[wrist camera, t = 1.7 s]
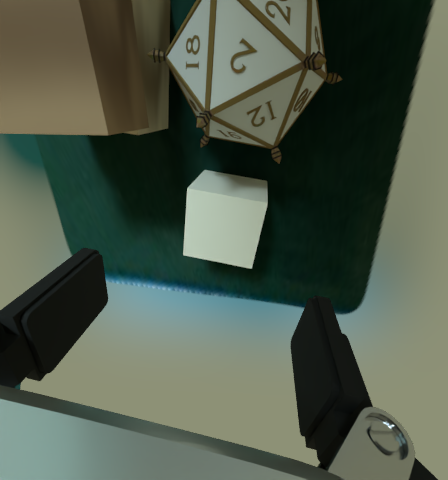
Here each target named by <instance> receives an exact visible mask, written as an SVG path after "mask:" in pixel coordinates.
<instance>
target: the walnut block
mask: <svg viewBox="0 0 448 480" xmlns="http://www.w3.org/2000/svg"><path fill="white" fill-rule="evenodd" d="M145 128H149V123H148V116H147V108H146V101H145V94H144V87H143V80H142V73H141V65H140V58H139V51H138V44H137V37H136V30H135V23H134V15H133V8H132V1H131V0H0V133H7V134H9V133H10V134H63V135H113V134H118V133H124V132H129V131H135V130H140V129H145Z"/></svg>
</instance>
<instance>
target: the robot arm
mask: <svg viewBox="0 0 448 480" xmlns="http://www.w3.org/2000/svg"><path fill="white" fill-rule="evenodd" d="M107 302H108V294H107V287H106V280H105V273H104V266H103V259H102V255H100V254H99V252H98V251H97V250H93V249H88V248H83V249H81V250H80V251H78V252H77V253H76V254H74V255H73V256H72V257H70V258H69V259H68V260H66V261H65V262H64V263H62V264H61V265H60V266H59V267H57V268H56V269H55V270H53V271H52V272H51V273H49V274H48V275H47V276H45V277H44V278H43V279H41V280H40V281H39V282H37V283H36V284H35V285H33V286H32V287H31V288H29V289H28V290H27V291H25V292H24V293H23V294H22V295H20V296H19V297H17V298H16V299H15V300H14V301H12V302H11V303H10V304H8V305H7V306H6V307H4V308H3V309H2V310H0V480H438V479H437V478H436V477H435V476H434V475H433V474H431V473H430V472H429V471H428V470H427V469H426V468H425V467H424V466H423V465H422V464H421V463H420V462H419V461H418V460H417V459H416V458H415V450H414V446H413V443H412V441H411V439H410V437H409V435H408V433H407V432H406V430H405V429H404V428H403V426H402V425H401V424H400V423H399V422H398V421H397V420H396V419H395V418H394V417H393V416H391V415H390V414H388V413H387V412H386V411H383V410H381V409H379V408H375V407H373V406H372V403H371V400H370V398H369V395H368V392H367V389H366V387H365V384H364V381H363V378H362V376H361V373H360V370H359V367H358V365H357V362H356V359H355V357H354V354H353V351H352V349H351V345H350V343H349V340H348V338H347V336H346V335H345V334H342V333H341V330H340V327H339V324H338V321H337V319H336V315H335V312H334V310H333V307H332V304H331V301H330V299H329V298H325V297H320V296H314V297H313V298H309V299H308V301H307V304H306V306H305V309H304V311H303V313H302V316H301V318H300V320H299V323H298V325H297V327H296V330H295V332H294V335H293V337H292V340H291V354H292V363H293V373H294V382H295V391H296V400H297V409H298V418H299V428H300V433H301V435H302V436H305V441H306V447H307V448H311V449H315V450H317V457H318V460H319V461H320V464H319V465H318V467H315V466H312V465H309V464H306V463H303V462H300V461H297V460H294V459H290V458H287V457H283V456H280V455H276V454H272V453H269V452H265V451H262V450H258V449H254V448H251V447H247V446H243V445H239V444H235V443H232V442H228V441H223V440H220V439H216V438H212V437H208V436H204V435H201V434H197V433H193V432H189V431H185V430H181V429H177V428H173V427H169V426H165V425H161V424H157V423H153V422H149V421H145V420H141V419H138V418H134V417H129V416H125V415H122V414H118V413H114V412H109V411H105V410H102V409H98V408H94V407H90V406H85V405H81V404H77V403H73V402H69V401H65V400H61V399H57V398H53V397H49V396H45V395H41V394H37V393H33V392H28V391H24V390H20V385H21V382H22V381H23V380H24V379H25V377H27V378H29V379H33V380H37V381H41V380H42V378H43V377H44V376H45V375H46V374H47V373H50V372H51V371H53V370H54V368H55V367H56V366H57V365H58V364H59V362H60V361H61V360H62V359H63V357H64V356H65V355H66V354H67V353H68V351H69V350H70V349H71V348H72V346H73V345H74V344H75V343H76V341H77V340H78V339H79V338H80V337H81V335H82V334H83V333H84V332H85V330H86V329H87V328H88V327H89V326H90V324H91V323H92V322H93V321H94V319H95V318H96V317H97V316H98V314H99V313H100V312H101V311H102V310H103V308H104V307H105V306H106V304H107Z"/></svg>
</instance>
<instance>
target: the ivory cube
mask: <svg viewBox="0 0 448 480" xmlns="http://www.w3.org/2000/svg"><path fill="white" fill-rule="evenodd" d="M267 204H268V191H267V181H265V180H259V179H253V178H248V177H242V176H237V175H231V174H225V173H220V172H214V171H209V170H204V171H203V172H202V173H201V174H200V175H199V176H198V177H197V179H196V180H195V181H194V182H193V183H192V184H191V185H190V186H189V187H188V188H187V201H186V217H185V234H184V251H183V255H185V256H190V257H195V258H200V259H205V260H210V261H215V262H220V263H225V264H230V265H235V266H240V267H245V268H250V269H252V266H253V262H254V258H255V253H256V249H257V245H258V241H259V237H260V233H261V229H262V225H263V221H264V217H265V213H266V209H267Z"/></svg>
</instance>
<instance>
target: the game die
mask: <svg viewBox="0 0 448 480" xmlns="http://www.w3.org/2000/svg"><path fill="white" fill-rule="evenodd" d="M147 56H149V57H150V58H151V59H152V60H153V61H154V63H156V62H159V63H161V62H162V61H166V63H167V65H168V66H169V68H170V70H171V72H172V74H173V76H174V78H175V79H176V81H177V83H178V85H179V87H180V89H181V90H182V92H183V94H184V96H185V98H186V100H187V101H188V103H189V105H190V107H191V109H192V111H193V113H194V114H195V116H196V123H197V127H202V129H203V131H204V133H205V135H204V136H202V139H200V142H201V147H203V146H206V145H208V142H210V141H209V139H210V137H211V138H216V139H222V140H227V141H232V142H237V143H243V144H248V145H253V146H259V147H264V148H269V149H271V150H272V154H271V155H272V157H273V158H272V159H274V160H275V161H276V162H277V163H279V164H280V160H281V156H282V155H281V153H280V151H281V150H279V149H278V148H277V146H278V144H279V143H280V141H281V140H282V139H283V137H284V136H285V135H286V133H287V132H288V131H289V129H290V128H291V127H292V125H293V124H294V122H295V121H296V120H297V118H298V117H299V116H300V114H301V113H302V112H303V110H304V109H305V108H306V106H307V105H308V103H309V102H310V101H311V99H312V98H313V97H314V95H315V94H316V93H317V91H318V90H319V89H320V87H321V86H322V84H323V83H324V82H325V81H326V82H327V83H328V84H332V85H334V84H335V83H337V82H339V81H341V80H343V79H342V78H341V77H340V76H339V74H338V73H337V72H336V73H333V72H331V73H329V74H327V68H326V61H327V60H326V59H325V53H324V45H323V38H322V30H321V22H320V15H319V7H318V0H196V2H195V3H194V5H193V7H192V8H191V10H190V12H189V13H188V15H187V17H186V19H185V20H184V22H183V24H182V25H181V27H180V29H179V30H178V32H177V34H176V36H175V37H174V39H173V41H172V42H171V44H170V46H169V47H168V49H167V51H166V52H162V51H160V49H159V50H155V48H154V49H153V50H152V51H151V52H149V53H148V54H147Z"/></svg>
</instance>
